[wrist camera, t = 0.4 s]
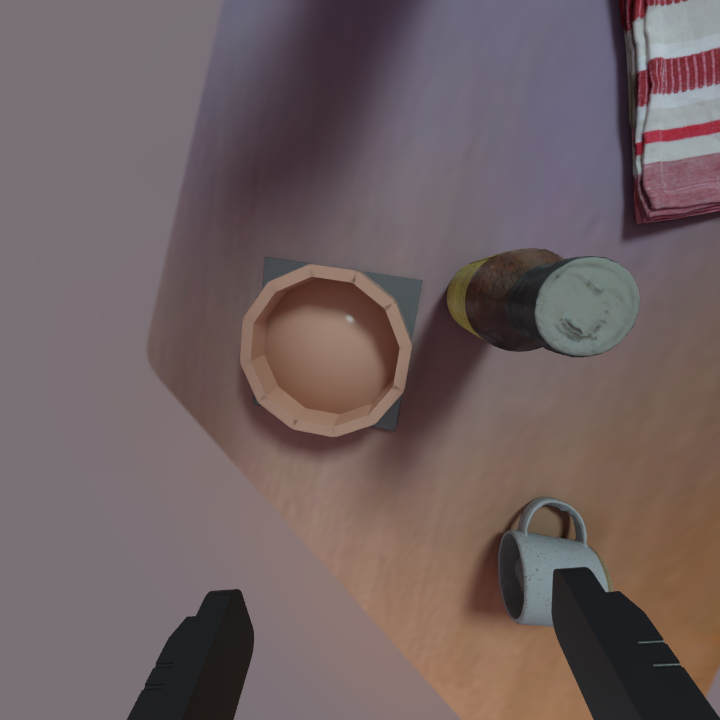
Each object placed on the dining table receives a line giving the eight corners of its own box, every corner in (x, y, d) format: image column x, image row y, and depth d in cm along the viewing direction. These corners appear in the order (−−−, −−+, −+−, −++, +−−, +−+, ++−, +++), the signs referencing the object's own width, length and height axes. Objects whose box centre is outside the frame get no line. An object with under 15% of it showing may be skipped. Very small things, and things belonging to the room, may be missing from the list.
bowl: (265, 257, 35) (247, 254, 31) (422, 280, 33) (424, 280, 30) (253, 404, 38) (236, 418, 35) (395, 431, 37) (393, 448, 33)
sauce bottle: (461, 340, 35) (525, 416, 16) (433, 280, 34) (464, 283, 15) (529, 309, 33) (691, 351, 14) (501, 245, 33) (634, 199, 13)
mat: (267, 257, 36) (265, 257, 35) (422, 280, 34) (422, 280, 33) (255, 402, 39) (253, 404, 38) (395, 428, 38) (395, 431, 37)
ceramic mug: (573, 587, 39) (613, 659, 31) (493, 576, 40) (513, 643, 32) (591, 497, 37) (638, 551, 29) (506, 487, 38) (531, 537, 30)
